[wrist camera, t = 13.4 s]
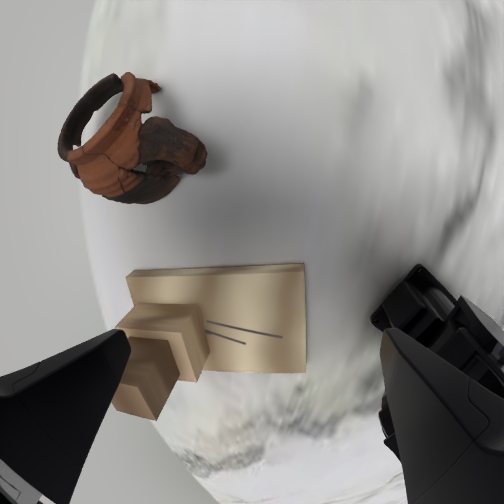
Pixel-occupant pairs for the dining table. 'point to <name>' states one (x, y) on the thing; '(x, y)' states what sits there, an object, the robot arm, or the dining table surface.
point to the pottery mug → (128, 144)
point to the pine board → (238, 312)
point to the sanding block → (159, 355)
